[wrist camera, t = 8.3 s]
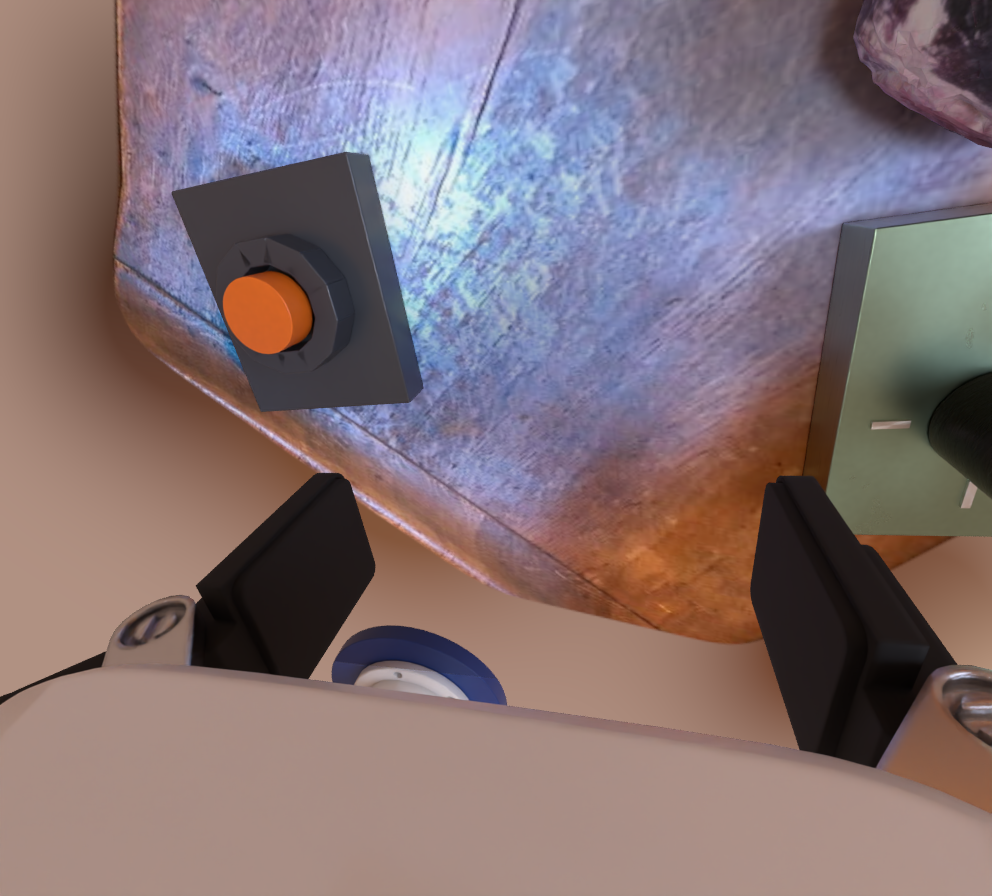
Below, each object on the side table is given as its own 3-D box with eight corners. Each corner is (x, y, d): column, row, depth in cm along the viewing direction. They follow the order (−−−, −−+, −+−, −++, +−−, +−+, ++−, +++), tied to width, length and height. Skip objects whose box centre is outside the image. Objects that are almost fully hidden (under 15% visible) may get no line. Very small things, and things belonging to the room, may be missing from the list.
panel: (1053, 500, 23) (1110, 541, 20) (798, 500, 26) (818, 536, 23) (1198, 174, 17) (1308, 171, 14) (842, 223, 20) (877, 228, 17)
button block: (424, 388, 28) (396, 416, 25) (282, 398, 31) (240, 424, 27) (369, 154, 23) (324, 148, 19) (203, 191, 25) (138, 191, 22)
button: (322, 340, 24) (302, 351, 22) (263, 347, 25) (240, 357, 23) (298, 266, 22) (275, 271, 21) (236, 275, 23) (210, 281, 22)
